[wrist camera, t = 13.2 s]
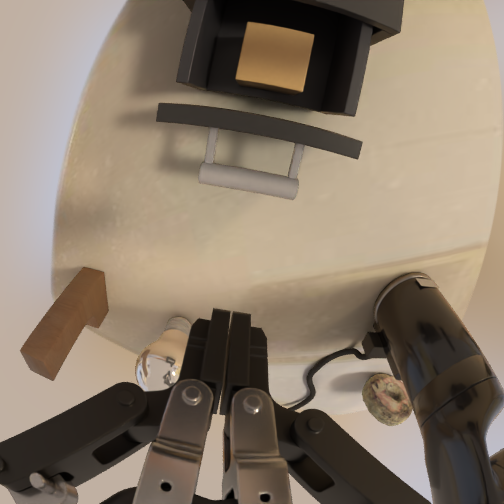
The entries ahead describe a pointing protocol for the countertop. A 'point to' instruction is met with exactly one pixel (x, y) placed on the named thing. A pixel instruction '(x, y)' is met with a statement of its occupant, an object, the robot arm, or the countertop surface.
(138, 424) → the robot arm
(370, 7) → the dark drawer cabinet
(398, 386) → the stone ring
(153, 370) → the light bulb
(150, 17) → the countertop surface
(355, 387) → the countertop surface
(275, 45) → the cube
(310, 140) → the pull-out drawer
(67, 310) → the wooden block
